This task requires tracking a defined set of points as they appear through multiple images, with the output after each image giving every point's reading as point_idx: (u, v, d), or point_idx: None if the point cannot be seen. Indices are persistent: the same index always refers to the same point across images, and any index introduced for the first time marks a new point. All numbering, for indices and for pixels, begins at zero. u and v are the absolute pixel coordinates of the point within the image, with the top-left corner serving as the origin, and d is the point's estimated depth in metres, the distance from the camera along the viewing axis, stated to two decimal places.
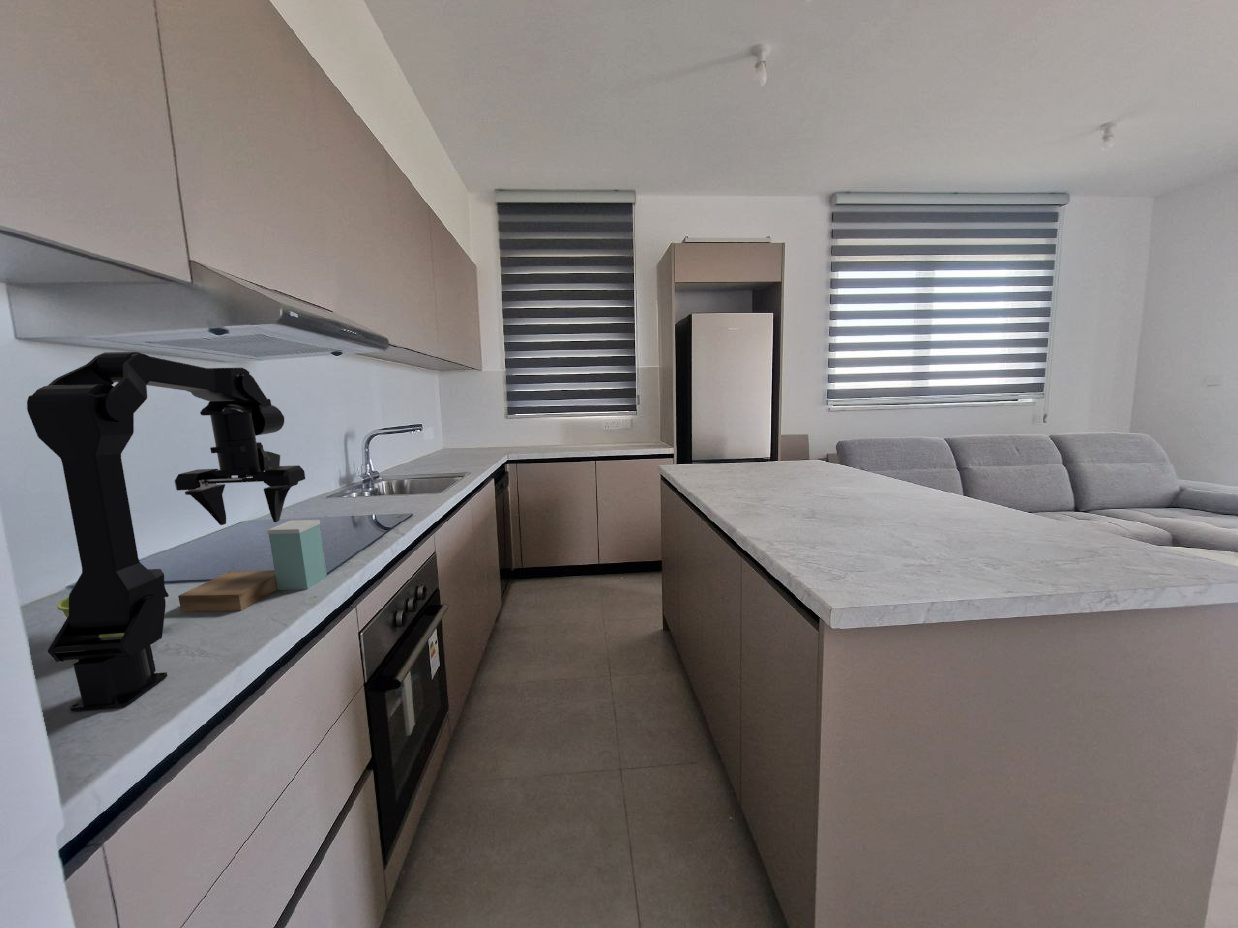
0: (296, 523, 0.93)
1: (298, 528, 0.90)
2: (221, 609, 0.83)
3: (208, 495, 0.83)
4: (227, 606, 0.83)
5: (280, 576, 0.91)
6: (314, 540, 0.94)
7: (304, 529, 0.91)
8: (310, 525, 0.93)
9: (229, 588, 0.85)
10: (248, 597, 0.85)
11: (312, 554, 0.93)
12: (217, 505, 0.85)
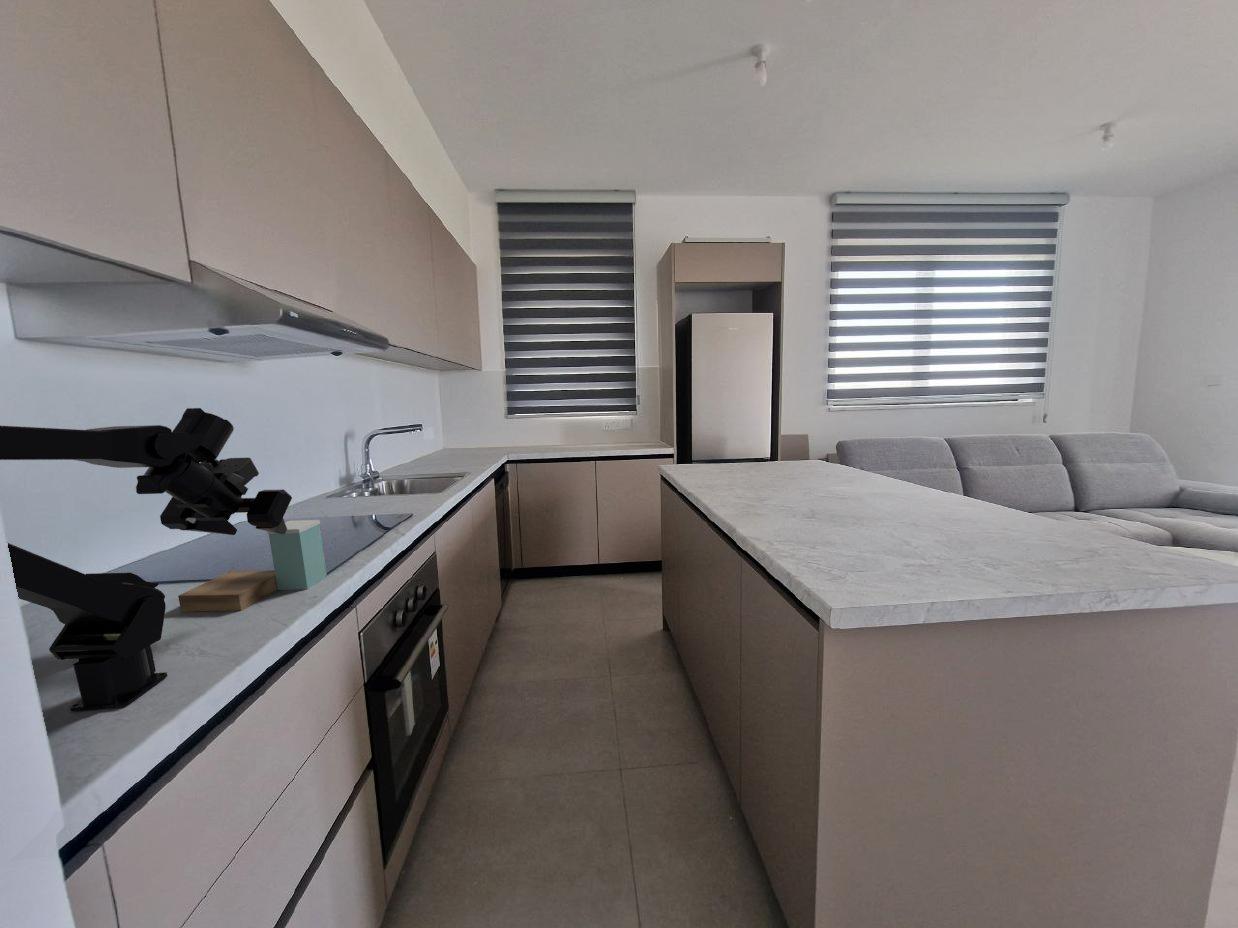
0: (296, 523, 0.93)
1: (298, 528, 0.90)
2: (221, 609, 0.83)
3: (204, 525, 0.79)
4: (227, 606, 0.83)
5: (280, 576, 0.91)
6: (314, 540, 0.94)
7: (304, 529, 0.91)
8: (310, 525, 0.93)
9: (229, 588, 0.85)
10: (248, 597, 0.85)
11: (312, 554, 0.93)
12: (218, 524, 0.81)
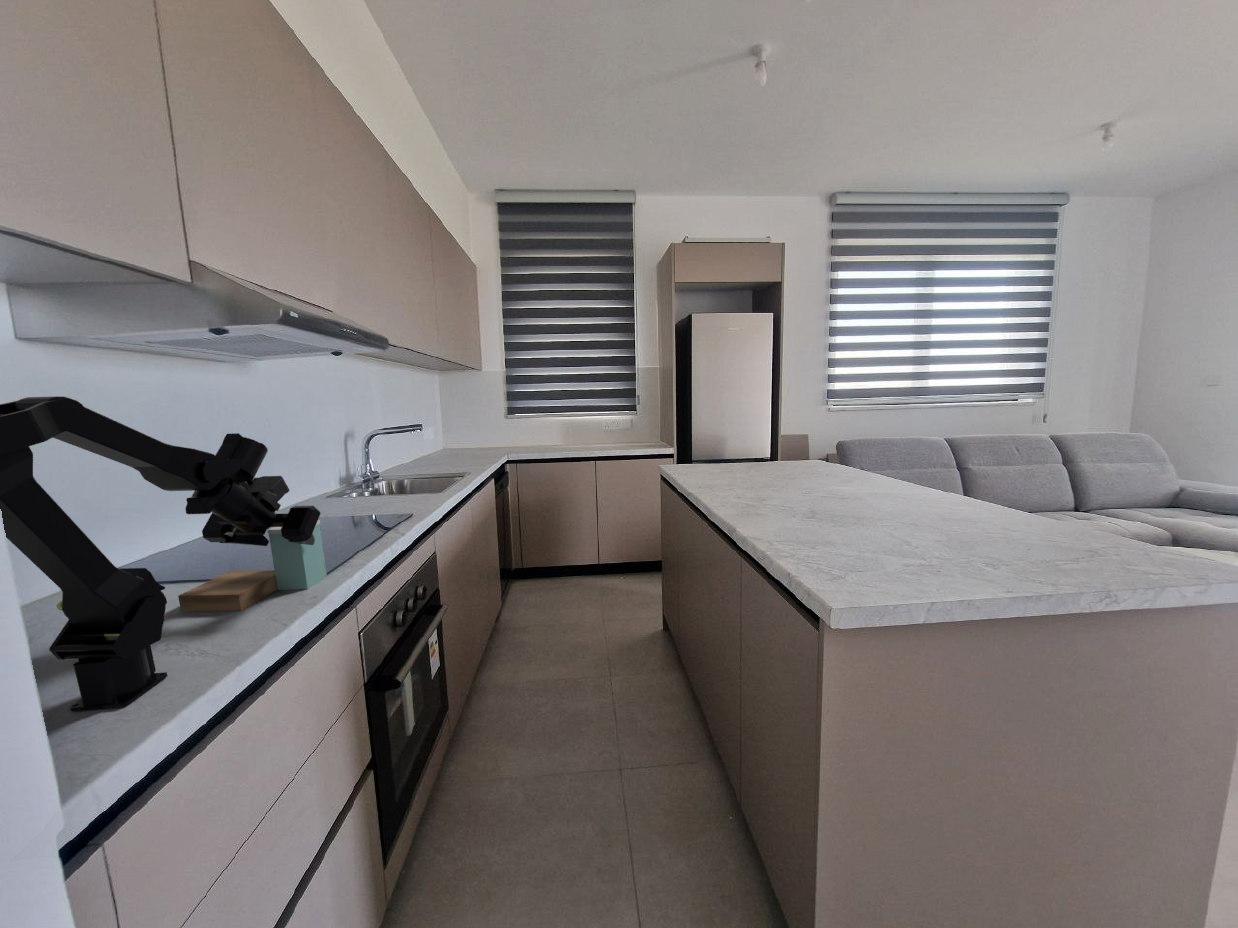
0: None
1: None
2: (221, 609, 0.83)
3: (240, 538, 0.86)
4: (227, 606, 0.83)
5: (280, 575, 0.91)
6: None
7: None
8: None
9: (229, 588, 0.85)
10: (248, 597, 0.85)
11: (312, 554, 0.93)
12: (253, 537, 0.89)
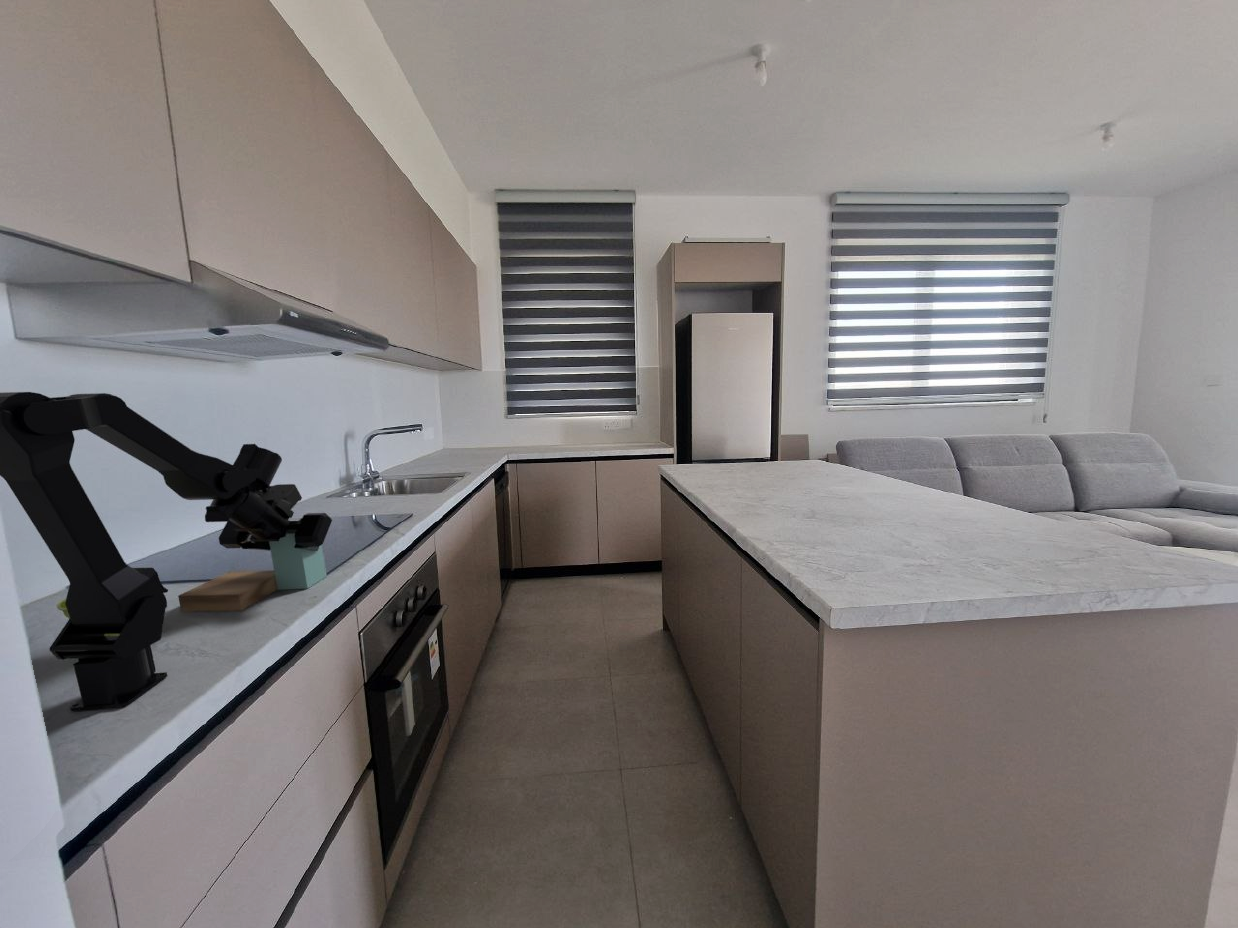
0: None
1: None
2: (221, 609, 0.83)
3: (262, 544, 0.89)
4: (227, 606, 0.83)
5: (280, 575, 0.91)
6: None
7: None
8: None
9: (229, 588, 0.85)
10: (248, 597, 0.85)
11: (312, 553, 0.93)
12: None
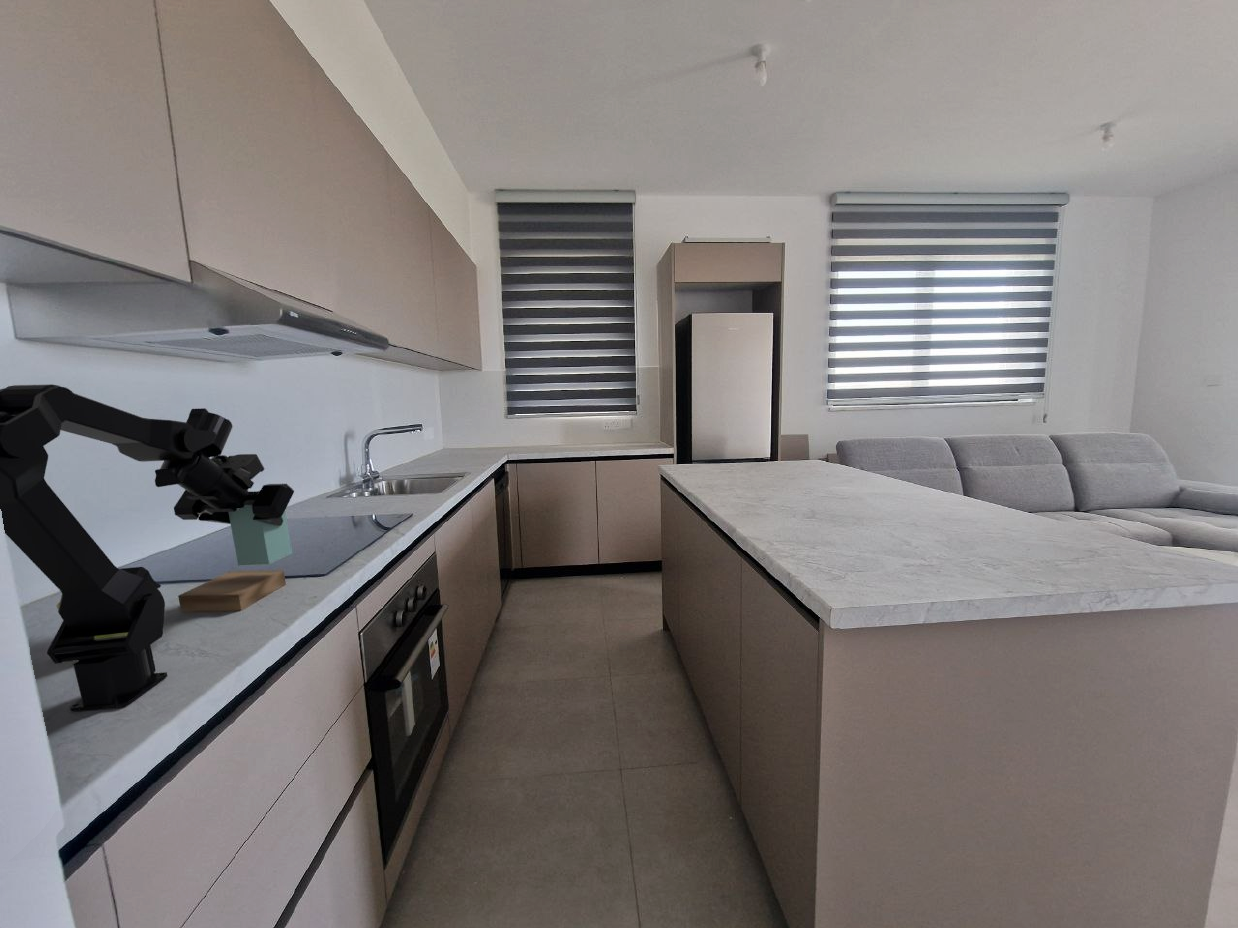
0: None
1: None
2: (221, 609, 0.83)
3: (221, 516, 0.85)
4: (227, 606, 0.83)
5: (241, 550, 0.87)
6: None
7: None
8: None
9: (229, 588, 0.85)
10: (248, 597, 0.85)
11: (275, 528, 0.89)
12: None
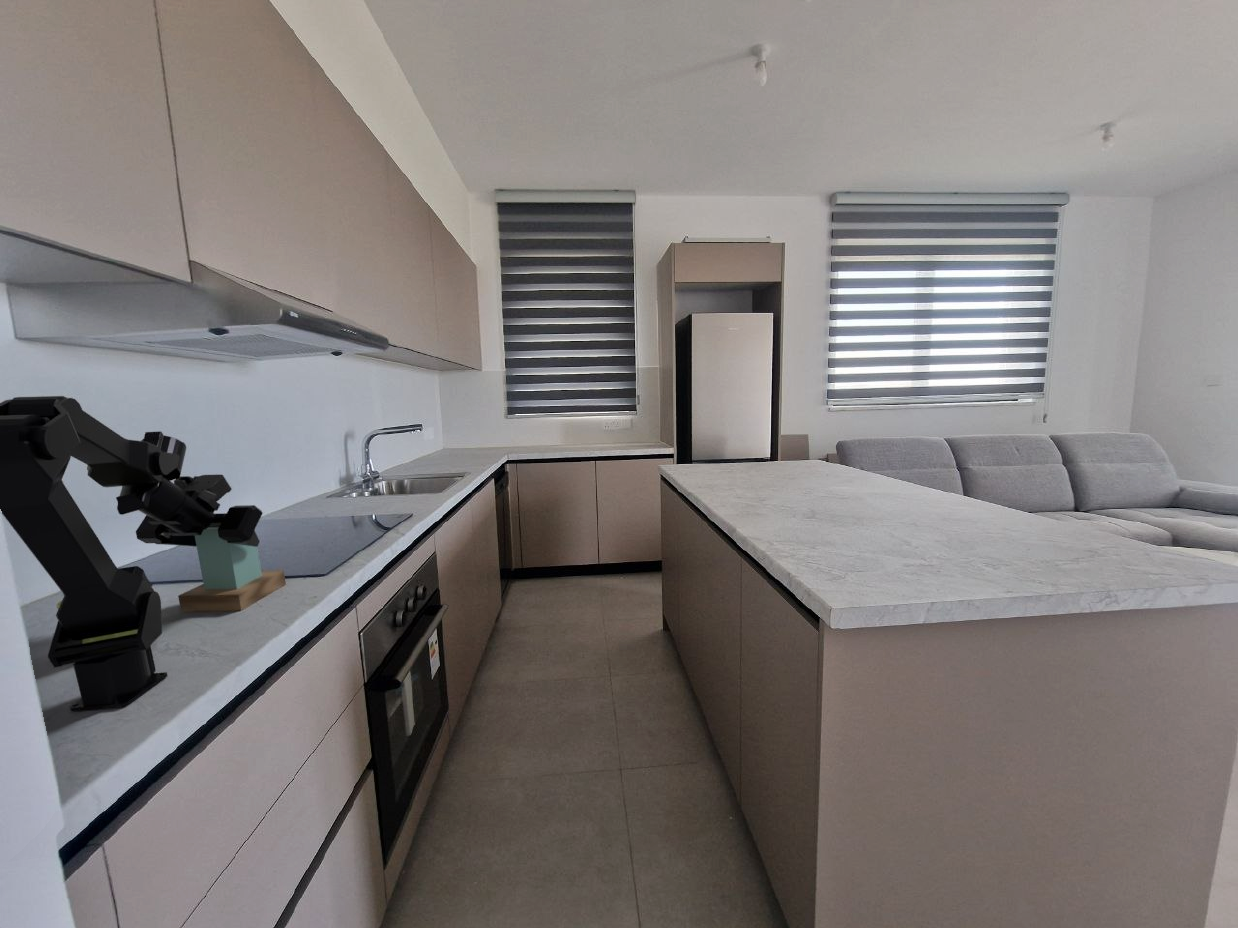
0: None
1: None
2: (221, 609, 0.83)
3: (178, 539, 0.83)
4: (227, 606, 0.83)
5: (207, 574, 0.85)
6: None
7: None
8: None
9: None
10: (248, 597, 0.85)
11: (243, 551, 0.87)
12: (193, 538, 0.85)
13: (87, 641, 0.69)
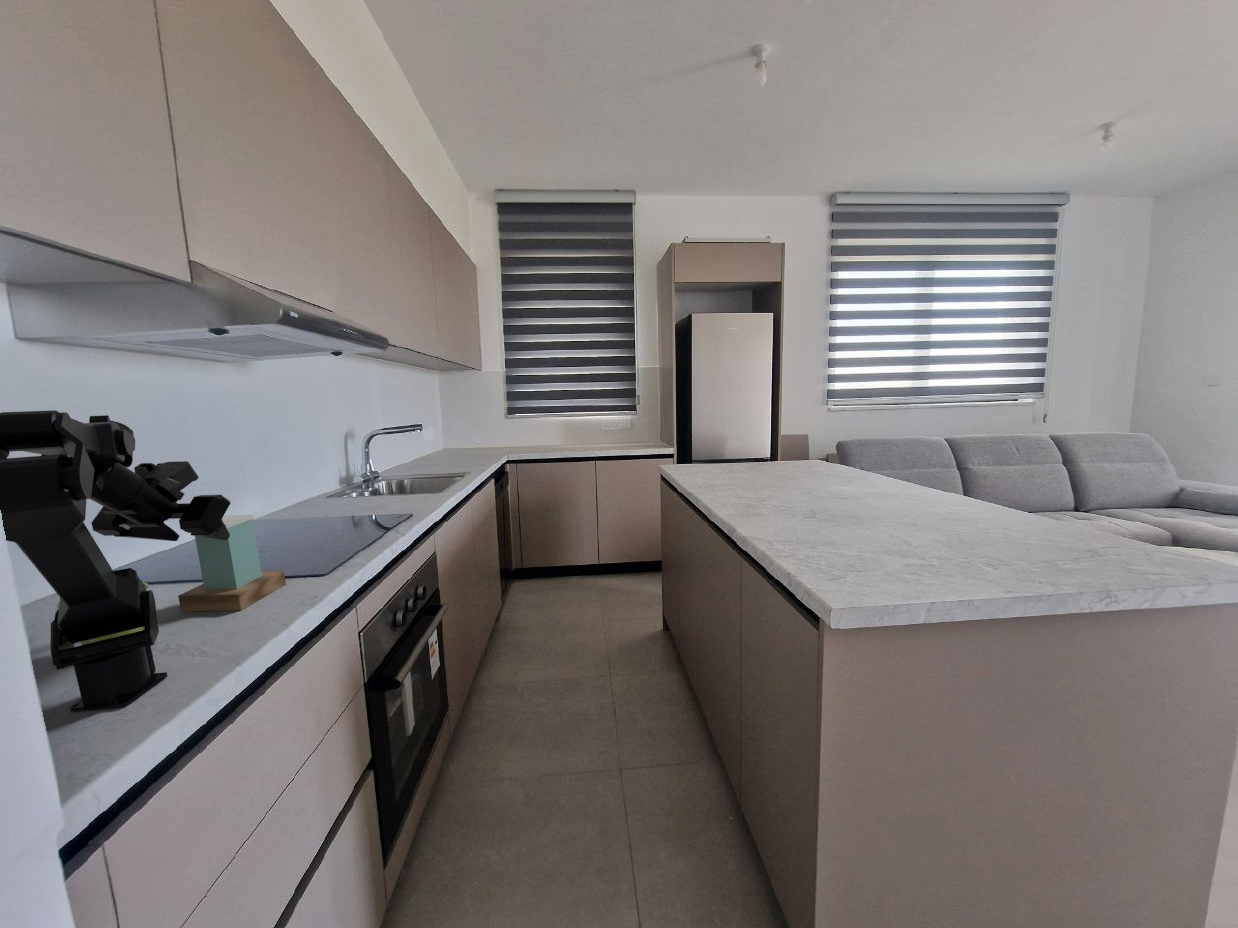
0: (226, 518, 0.87)
1: (225, 523, 0.84)
2: (221, 609, 0.83)
3: (140, 531, 0.76)
4: (227, 606, 0.83)
5: (207, 574, 0.85)
6: (245, 536, 0.87)
7: (232, 524, 0.84)
8: (240, 520, 0.86)
9: None
10: (248, 597, 0.85)
11: (243, 551, 0.87)
12: (157, 530, 0.79)
13: (87, 641, 0.69)
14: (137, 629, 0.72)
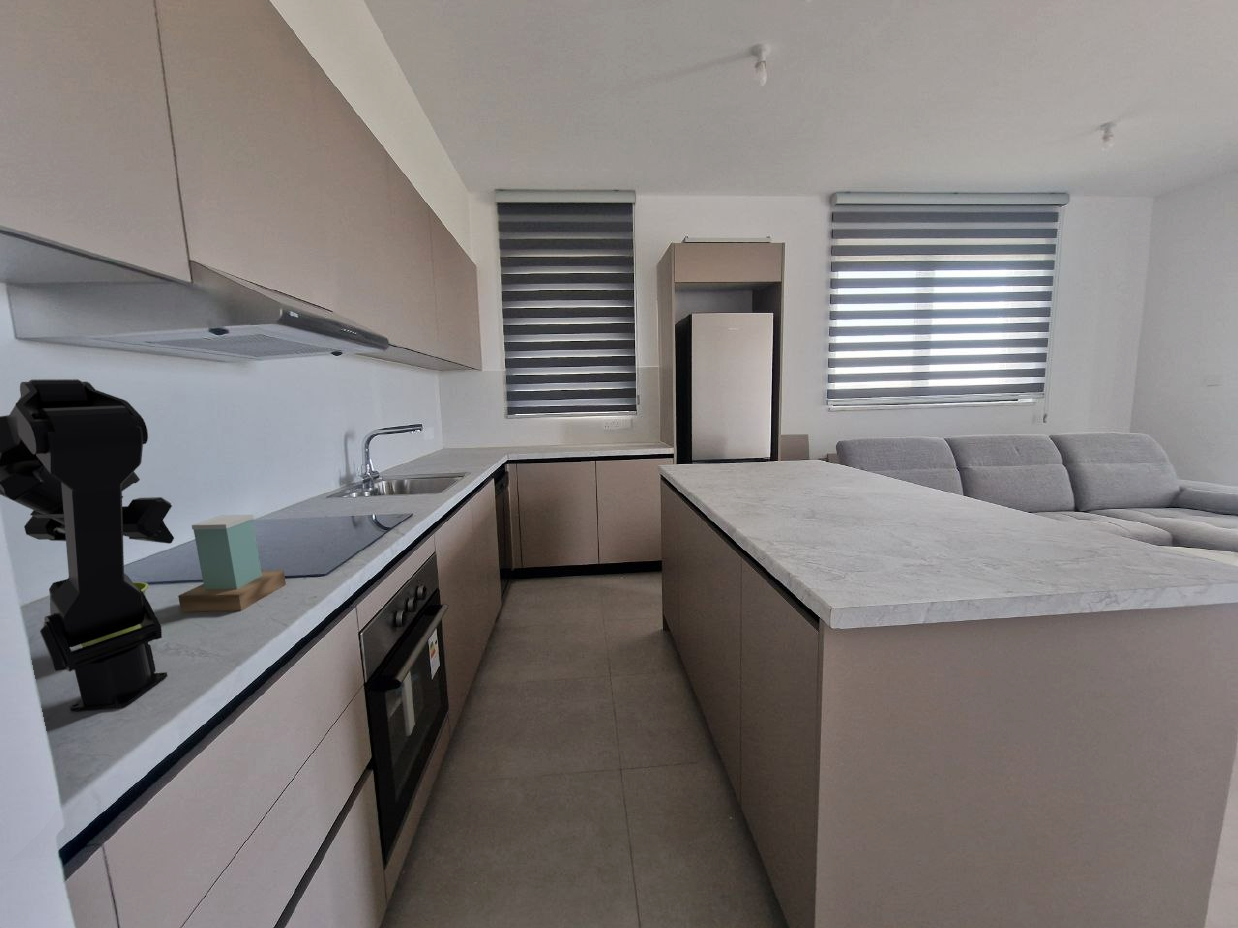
0: (226, 518, 0.87)
1: (225, 523, 0.84)
2: (221, 609, 0.83)
3: None
4: (227, 606, 0.83)
5: (207, 574, 0.85)
6: (245, 536, 0.87)
7: (232, 524, 0.84)
8: (240, 520, 0.86)
9: None
10: (248, 597, 0.85)
11: (243, 551, 0.87)
12: None
13: None
14: None
